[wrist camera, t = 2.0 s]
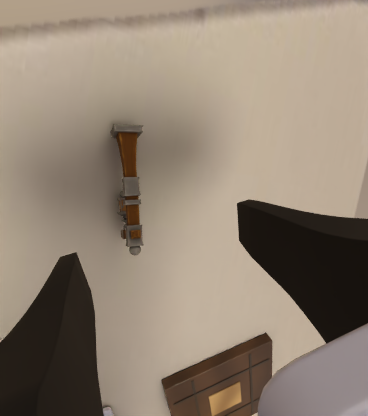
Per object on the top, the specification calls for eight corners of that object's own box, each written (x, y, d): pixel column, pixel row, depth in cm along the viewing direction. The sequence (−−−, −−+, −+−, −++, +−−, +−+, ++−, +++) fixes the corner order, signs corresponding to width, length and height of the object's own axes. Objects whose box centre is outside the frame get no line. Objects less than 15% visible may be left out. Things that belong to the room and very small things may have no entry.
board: (178, 441, 36) (182, 453, 35) (161, 379, 30) (164, 391, 29) (266, 396, 39) (272, 405, 38) (266, 332, 33) (273, 341, 32)
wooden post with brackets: (113, 250, 21) (123, 259, 17) (106, 141, 21) (113, 123, 17) (137, 247, 22) (153, 255, 17) (130, 141, 22) (144, 124, 17)
